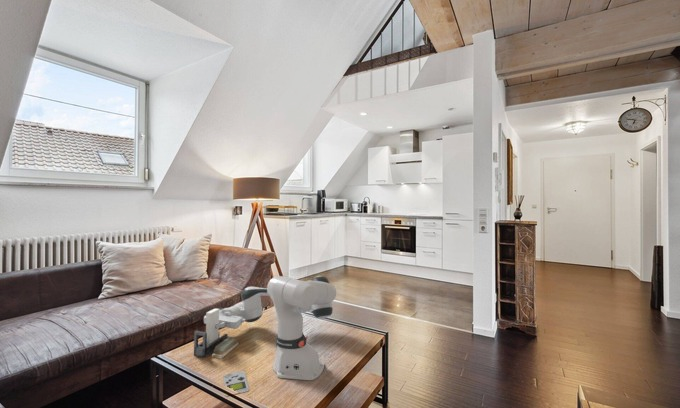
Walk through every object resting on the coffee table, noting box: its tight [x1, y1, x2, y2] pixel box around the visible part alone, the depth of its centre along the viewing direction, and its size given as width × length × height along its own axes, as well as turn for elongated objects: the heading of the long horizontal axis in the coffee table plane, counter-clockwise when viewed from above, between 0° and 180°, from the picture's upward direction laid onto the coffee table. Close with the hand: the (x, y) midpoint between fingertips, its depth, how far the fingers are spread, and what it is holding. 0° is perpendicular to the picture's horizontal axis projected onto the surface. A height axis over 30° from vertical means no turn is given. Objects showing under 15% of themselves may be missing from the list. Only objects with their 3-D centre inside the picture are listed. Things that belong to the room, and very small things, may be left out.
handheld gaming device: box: [222, 370, 250, 394], centre depth 121 cm, size 9×1×15 cm
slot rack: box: [193, 330, 228, 358], centre depth 148 cm, size 6×16×11 cm, turn 163°
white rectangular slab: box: [205, 308, 220, 345], centre depth 148 cm, size 2×6×18 cm, turn 163°
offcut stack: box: [211, 337, 239, 360], centre depth 146 cm, size 5×14×4 cm, turn 166°
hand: (212, 326), depth 148 cm, fingers closed on white rectangular slab, 2 cm apart
